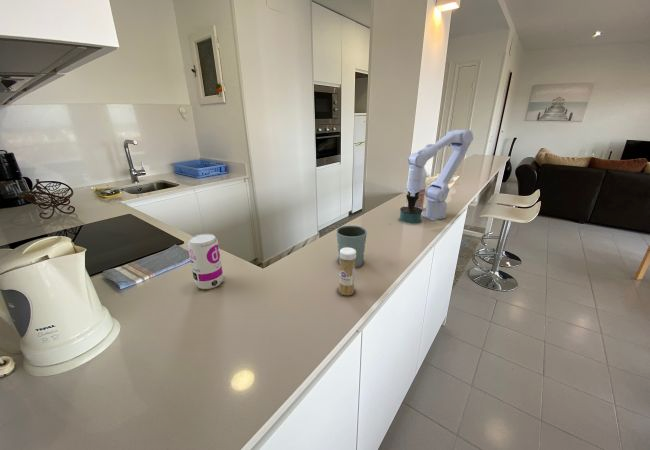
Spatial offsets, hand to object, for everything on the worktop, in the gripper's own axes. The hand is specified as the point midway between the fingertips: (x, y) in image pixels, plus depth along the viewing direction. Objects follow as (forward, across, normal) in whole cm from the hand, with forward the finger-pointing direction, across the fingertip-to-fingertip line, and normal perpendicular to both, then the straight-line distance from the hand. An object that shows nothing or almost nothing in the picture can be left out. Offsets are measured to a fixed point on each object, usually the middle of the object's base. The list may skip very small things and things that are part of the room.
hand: (411, 207), depth 135 cm
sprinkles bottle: (+7, +69, -13) cm, 70 cm away
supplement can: (+7, +78, -54) cm, 96 cm away
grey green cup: (+7, +51, -17) cm, 54 cm away
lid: (+2, 0, 0) cm, 2 cm away
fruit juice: (+7, -20, +1) cm, 22 cm away
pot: (+7, 0, 0) cm, 7 cm away
